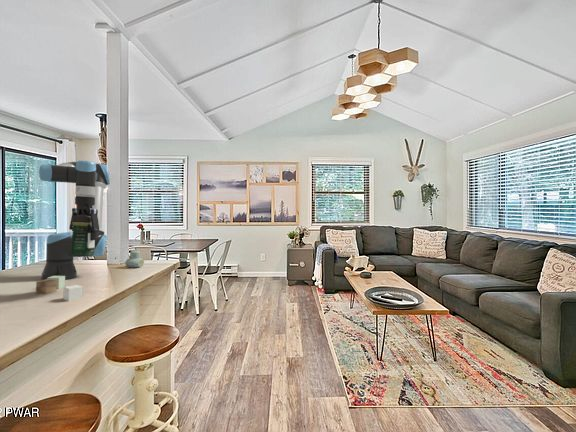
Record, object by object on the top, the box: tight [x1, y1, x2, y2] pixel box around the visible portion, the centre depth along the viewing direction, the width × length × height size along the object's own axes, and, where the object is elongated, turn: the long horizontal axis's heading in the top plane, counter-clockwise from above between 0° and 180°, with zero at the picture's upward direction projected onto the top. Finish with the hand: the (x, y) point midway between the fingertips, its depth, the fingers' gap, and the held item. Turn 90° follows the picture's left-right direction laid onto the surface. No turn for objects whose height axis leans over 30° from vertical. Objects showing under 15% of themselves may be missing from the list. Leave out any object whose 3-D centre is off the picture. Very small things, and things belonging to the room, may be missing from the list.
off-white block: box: [62, 284, 84, 302], centre depth 134 cm, size 5×5×5 cm
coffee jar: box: [71, 214, 95, 258], centre depth 147 cm, size 10×8×19 cm
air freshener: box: [124, 250, 145, 269], centre depth 209 cm, size 11×8×10 cm
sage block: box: [47, 276, 66, 290], centre depth 151 cm, size 5×5×5 cm
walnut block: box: [35, 279, 57, 295], centre depth 143 cm, size 5×5×5 cm
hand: (83, 246), depth 147 cm, fingers closed on coffee jar, 9 cm apart
